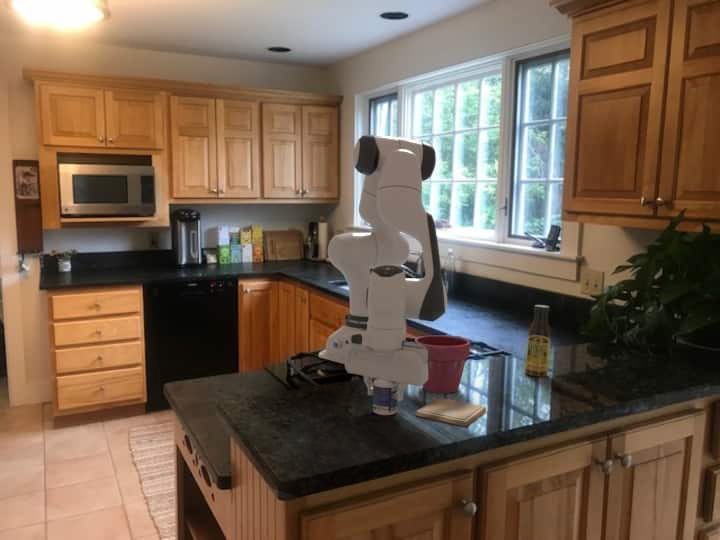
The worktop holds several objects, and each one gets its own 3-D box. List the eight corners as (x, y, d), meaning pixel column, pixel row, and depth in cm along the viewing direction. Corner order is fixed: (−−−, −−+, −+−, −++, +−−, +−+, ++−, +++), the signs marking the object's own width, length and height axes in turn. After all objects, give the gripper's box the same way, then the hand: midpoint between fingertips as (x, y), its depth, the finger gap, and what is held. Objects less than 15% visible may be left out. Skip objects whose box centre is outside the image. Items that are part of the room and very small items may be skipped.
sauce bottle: (523, 376, 169) (526, 306, 167) (526, 370, 175) (529, 303, 173) (547, 379, 167) (551, 308, 165) (549, 373, 173) (553, 305, 170)
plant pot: (436, 377, 166) (437, 332, 165) (479, 389, 156) (481, 340, 155) (402, 387, 156) (403, 339, 155) (445, 400, 146) (447, 349, 145)
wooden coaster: (416, 415, 136) (416, 410, 135) (438, 401, 146) (438, 396, 146) (466, 426, 129) (466, 421, 129) (485, 411, 139) (486, 406, 139)
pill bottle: (394, 416, 134) (395, 374, 133) (371, 414, 135) (371, 372, 134) (397, 409, 140) (399, 368, 139) (375, 407, 141) (376, 366, 140)
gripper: (434, 341, 133) (432, 402, 134) (356, 330, 144) (355, 386, 145) (421, 347, 128) (419, 410, 129) (341, 334, 138) (340, 393, 140)
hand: (385, 397), depth 137 cm, fingers closed on pill bottle, 5 cm apart
